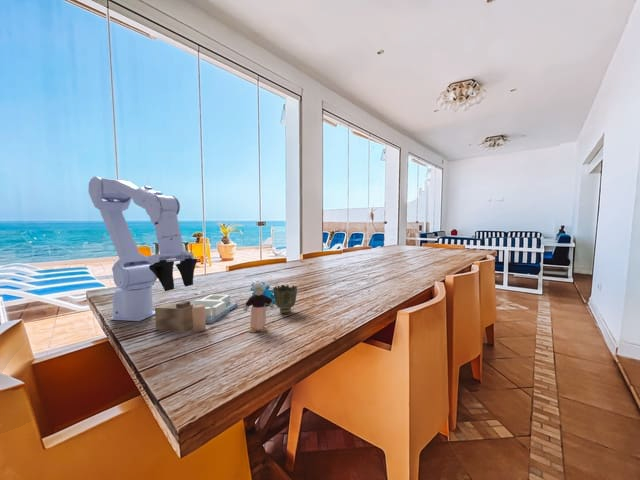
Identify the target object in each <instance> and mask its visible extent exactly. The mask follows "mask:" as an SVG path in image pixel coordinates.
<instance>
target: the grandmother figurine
mask: <svg viewBox="0 0 640 480" xmlns="http://www.w3.org/2000/svg"><path fill="white" fill-rule="evenodd" d="M253 283H254V284H253ZM253 283H252V284H253V287H252V286H251V287H252V289H253V291H252V292H254V294H255V295H251V296H250V298H248V300H247V301H246V302H245V305H244V307H243V312H244V313H245V312H247V311H248V309H249V307H250V306H252V307H251V311H250V320H249V321H250V322H249V323H250V325H249V326H250V328H249V329H248V333H249V334H251V333H253V334H254V333H256V332H257V330H258V332H266V331H267V327H266V319H267V318H266V317H267V315H266V311H267V310H266V305H268V304H269V305H268V306H269V308H270V309H274V308H275V305H274V303H272V300H271V299H270V298H269V297H267V296H265V295H262V294H263V292H264V290H265V287H266V286H265V285H264V284H262V281H261V282H260V281H259V282H256V281H255V282H253ZM265 303H266V304H265Z"/></svg>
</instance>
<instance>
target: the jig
mask: <svg viewBox="0 0 640 480" xmlns="http://www.w3.org/2000/svg"><path fill="white" fill-rule="evenodd" d="M196 305H205V324H213V323H214V322H216V321H217V320H219V319H221V318H222V317H223V316H225V315H226V314H227V313H230V312H231V311H232V310H233V308H234V309H235V308H237V307H238V302H233V301H231V295H230V294H208V295H207V296H205V297H203V298H201V299H195V300H194V306H196ZM236 306H237V307H236ZM230 310H231V311H230Z"/></svg>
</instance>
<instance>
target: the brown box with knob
mask: <svg viewBox="0 0 640 480" xmlns="http://www.w3.org/2000/svg"><path fill="white" fill-rule="evenodd" d="M193 306H194V304H193V303H191V301H190V300H182V301H180V302H178V303H171V302H168V303H167V302H166V303H164V304H161V305H158V306H156V307H155V308H154V311H155V315H154V316H155V317H154V318H155V331H164V332H166V331H168V332H181V333H182V332H183V333H184V332H187V330H189V329H190V328H193V315H192V307H193Z"/></svg>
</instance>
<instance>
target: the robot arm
mask: <svg viewBox="0 0 640 480" xmlns="http://www.w3.org/2000/svg"><path fill="white" fill-rule="evenodd" d="M87 191H88V195H89V198H90V199H91V201H92V204H93V207H94V208H96V209H97V210H99V212H100V214H101V215H100V216H101V217H102V219H103V222H104V225H105V227H106V230H107V231H108V235H109V236H110V239H111V241H112V242H111V243H112V244H113V247H114V249H115V252H116V254H117V256H118V258H119V259H118V260H116V261H115V262H114V264H113V266H112V268H111V272H112V275H113V277H112V278H113V282H114V284H115V286H116V287H117V289H116V290H115V291H114V293H113V295H112V317H110V320H111V321H128V322H129V321H130V322H140V321H143V320H145V319H147V318H150V317H152V316H155V310H153V309H154V308H153V286H155V282H157V280H159V283H160V284H161V286H162V288H163V290H164V291H165V292H167V291H168V292H169V291H172V290H174V289H175V281H174V274H173V273H174V266H175V267H176V268H177V270H178V272H179V273H180V276H181V279H182V283H183V286H184V287H189V286H190V287H191V286H193V285H194V275H195V274H194V273H195V269H196V265H197V263H198V261H197V258H195V256H194V255H195V254H194V252H189V251H188V250H185V248H184V244H183V238H182V234H181V233H182V232H181V228H180V225H179V219H178V215H179V213H180V208H181V205H180V201H179V200H178V198H176V197H175V196H174V195H170V196H169V195H168V196H167V195H164V194H163V192H162V191H157V190H153V187H152V186H148V185H144V186H140V187H138V186H137V185H135V184H134V183H133V182H132V181H129V180H121V179H120V180H119V179H112V178H106V177H99V176H97V175H96V176H95V175H94V176H93V177H92V178H90V180H89V182H88V190H87ZM132 201H133V203H134V204H135V205H136V206H138V207H140V208H142V209H144V210H145V212H146V214H147V215H148V216H149V219H150V222H151V223H152V224H154V225H153V226H154V232H155V235H156V242H157V245H158V250H159V253H157V254H156V253H154V254H152V255H149V256H147V255H144V254H142V253H140V251H139V248H138V247H137V243H136V242H135V239H134V236H133V235H132V233H131V230H130V228H129V226H128V223H127V220H126V218H125V216H124V214H123V212H124V211H126V210H128V209H129V207H130V204H131V202H132ZM175 262H180V263H176V264H175ZM174 264H175V265H174Z"/></svg>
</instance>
